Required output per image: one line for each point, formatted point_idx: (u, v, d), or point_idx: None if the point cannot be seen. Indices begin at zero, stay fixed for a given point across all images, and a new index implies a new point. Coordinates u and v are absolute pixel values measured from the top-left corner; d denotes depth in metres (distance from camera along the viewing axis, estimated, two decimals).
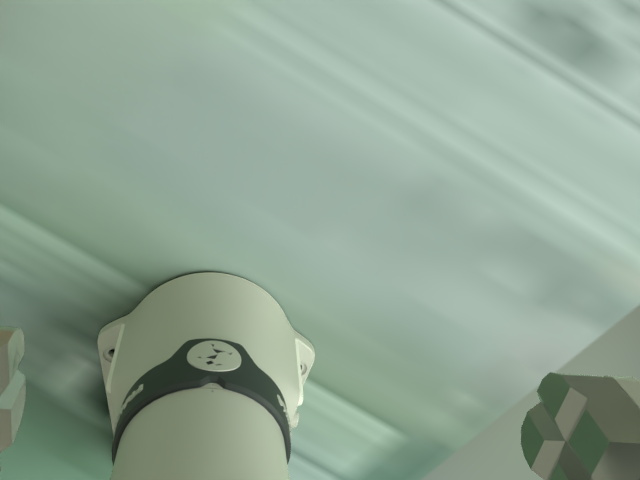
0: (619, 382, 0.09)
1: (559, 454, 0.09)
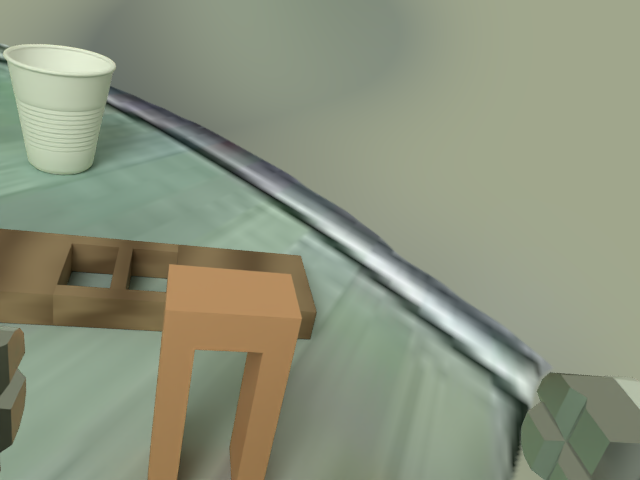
0: (619, 382, 0.09)
1: (559, 454, 0.09)
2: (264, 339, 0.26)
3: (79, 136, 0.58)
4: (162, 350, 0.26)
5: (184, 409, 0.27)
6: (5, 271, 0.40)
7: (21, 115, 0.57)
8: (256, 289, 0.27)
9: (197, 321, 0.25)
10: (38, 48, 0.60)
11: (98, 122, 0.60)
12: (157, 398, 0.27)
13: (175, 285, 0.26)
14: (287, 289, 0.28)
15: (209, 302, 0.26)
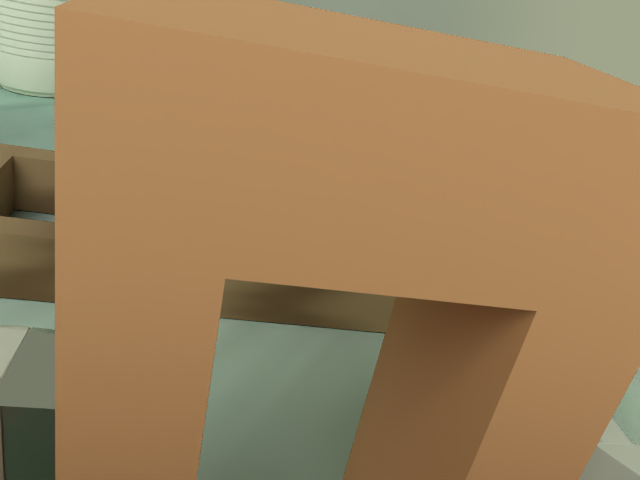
0: None
1: None
2: (559, 242, 0.05)
3: None
4: (60, 275, 0.05)
5: None
6: None
7: None
8: (483, 55, 0.07)
9: (243, 107, 0.05)
10: None
11: None
12: None
13: None
14: (595, 74, 0.07)
15: (307, 38, 0.05)
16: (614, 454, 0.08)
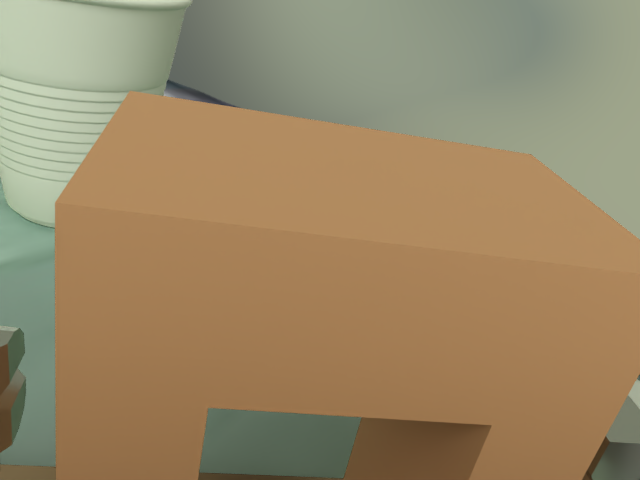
0: None
1: None
2: (510, 370, 0.06)
3: None
4: (60, 409, 0.06)
5: None
6: None
7: None
8: (448, 177, 0.07)
9: (221, 273, 0.05)
10: None
11: None
12: None
13: (136, 135, 0.06)
14: (554, 187, 0.08)
15: (280, 195, 0.06)
16: None
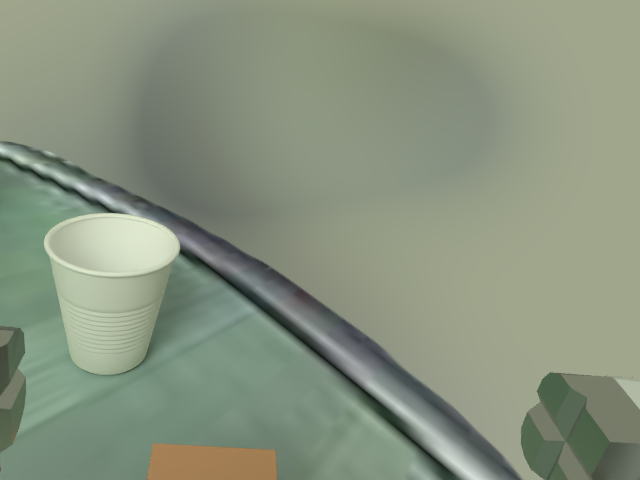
0: (619, 382, 0.09)
1: (559, 454, 0.09)
2: None
3: (133, 335, 0.47)
4: None
5: None
6: None
7: (63, 311, 0.46)
8: (237, 474, 0.27)
9: None
10: (86, 219, 0.49)
11: (156, 312, 0.48)
12: None
13: (155, 473, 0.27)
14: (269, 473, 0.28)
15: None
16: None
